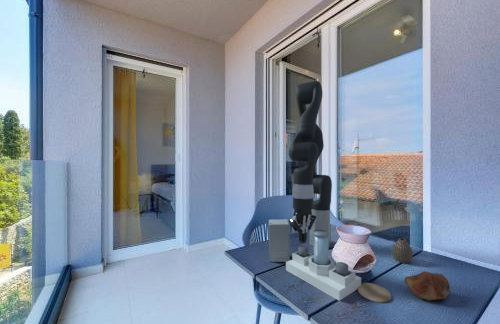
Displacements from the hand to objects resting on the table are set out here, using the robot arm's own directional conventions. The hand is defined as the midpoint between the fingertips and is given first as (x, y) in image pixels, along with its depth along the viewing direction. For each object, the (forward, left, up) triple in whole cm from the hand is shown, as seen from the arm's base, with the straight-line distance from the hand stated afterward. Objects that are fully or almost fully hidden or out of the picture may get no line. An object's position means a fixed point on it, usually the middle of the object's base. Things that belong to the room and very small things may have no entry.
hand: (302, 242), depth 85 cm
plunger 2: (0, +16, -5) cm, 17 cm away
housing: (0, +8, -10) cm, 13 cm away
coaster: (-6, +23, -10) cm, 26 cm away
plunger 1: (0, 0, -5) cm, 5 cm away
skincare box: (+2, -11, -10) cm, 15 cm away
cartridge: (0, +8, -7) cm, 11 cm away
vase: (-37, +19, -10) cm, 43 cm away
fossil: (-18, +33, -10) cm, 39 cm away
